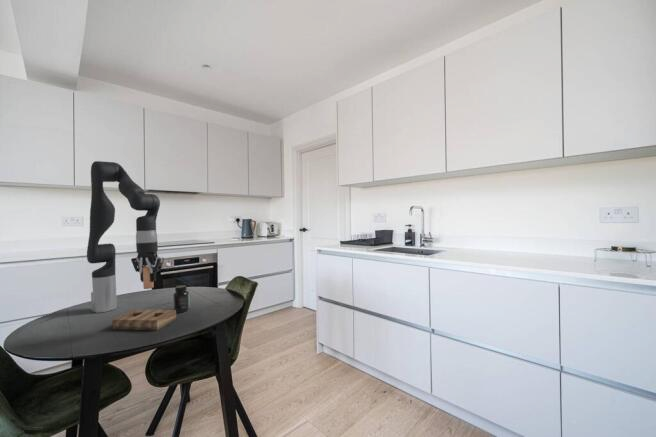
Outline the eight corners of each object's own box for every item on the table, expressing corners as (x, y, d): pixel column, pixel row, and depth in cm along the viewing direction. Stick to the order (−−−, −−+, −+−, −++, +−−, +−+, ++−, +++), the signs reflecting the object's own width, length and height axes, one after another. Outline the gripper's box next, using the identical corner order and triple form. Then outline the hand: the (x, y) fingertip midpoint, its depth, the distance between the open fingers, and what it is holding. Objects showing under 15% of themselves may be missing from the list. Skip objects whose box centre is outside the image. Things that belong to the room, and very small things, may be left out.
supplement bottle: (192, 308, 139) (191, 284, 139) (184, 313, 132) (183, 288, 132) (179, 308, 140) (178, 284, 139) (170, 313, 133) (169, 288, 133)
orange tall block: (141, 288, 116) (140, 267, 116) (148, 286, 120) (147, 265, 119) (149, 289, 116) (148, 267, 115) (155, 286, 119) (154, 265, 119)
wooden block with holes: (112, 329, 116) (112, 319, 116) (135, 318, 128) (135, 309, 127) (157, 330, 114) (157, 320, 114) (176, 318, 126) (175, 309, 125)
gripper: (124, 242, 114) (126, 283, 115) (155, 242, 112) (157, 284, 113) (138, 240, 122) (140, 279, 122) (168, 240, 120) (170, 279, 120)
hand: (148, 281), depth 118 cm, fingers closed on orange tall block, 3 cm apart
